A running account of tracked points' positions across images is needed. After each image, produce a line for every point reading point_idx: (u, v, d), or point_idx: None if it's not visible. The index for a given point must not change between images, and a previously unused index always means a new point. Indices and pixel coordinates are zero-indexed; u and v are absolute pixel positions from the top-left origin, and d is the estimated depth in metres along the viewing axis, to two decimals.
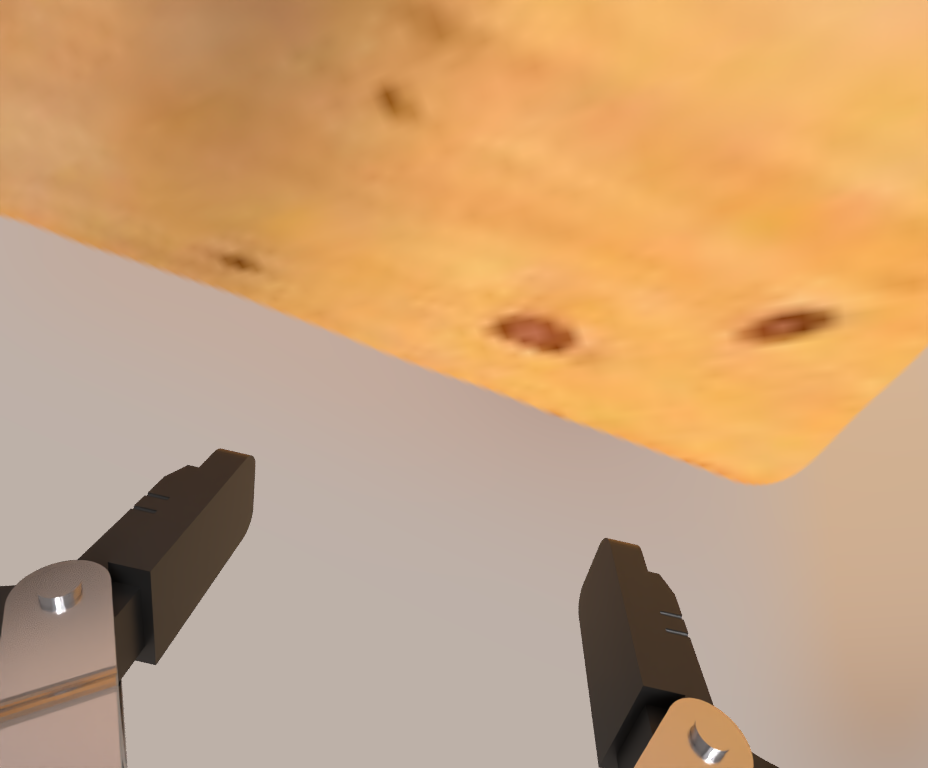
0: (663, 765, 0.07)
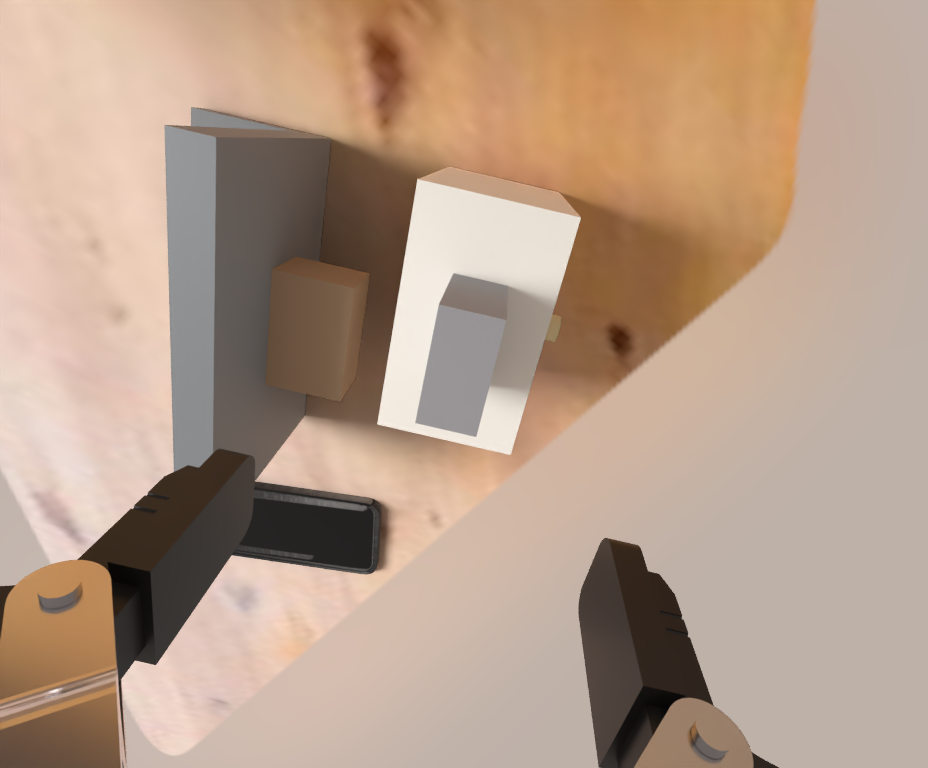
0: (663, 765, 0.07)
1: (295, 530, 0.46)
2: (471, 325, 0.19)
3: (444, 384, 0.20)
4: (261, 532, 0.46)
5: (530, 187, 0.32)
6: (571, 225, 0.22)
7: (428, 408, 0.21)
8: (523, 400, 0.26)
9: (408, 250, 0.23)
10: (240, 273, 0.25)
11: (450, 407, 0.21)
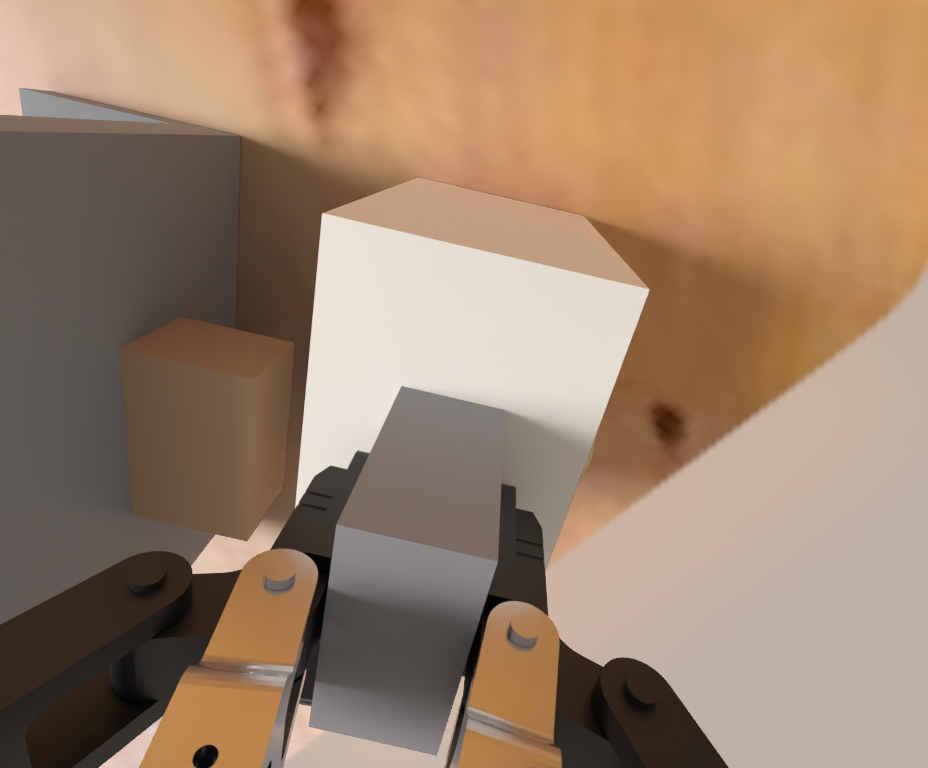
0: (494, 673, 0.08)
1: None
2: (415, 567, 0.08)
3: (362, 668, 0.09)
4: None
5: (541, 210, 0.20)
6: (629, 304, 0.11)
7: (333, 705, 0.10)
8: None
9: (315, 345, 0.12)
10: (22, 377, 0.14)
11: (380, 706, 0.10)
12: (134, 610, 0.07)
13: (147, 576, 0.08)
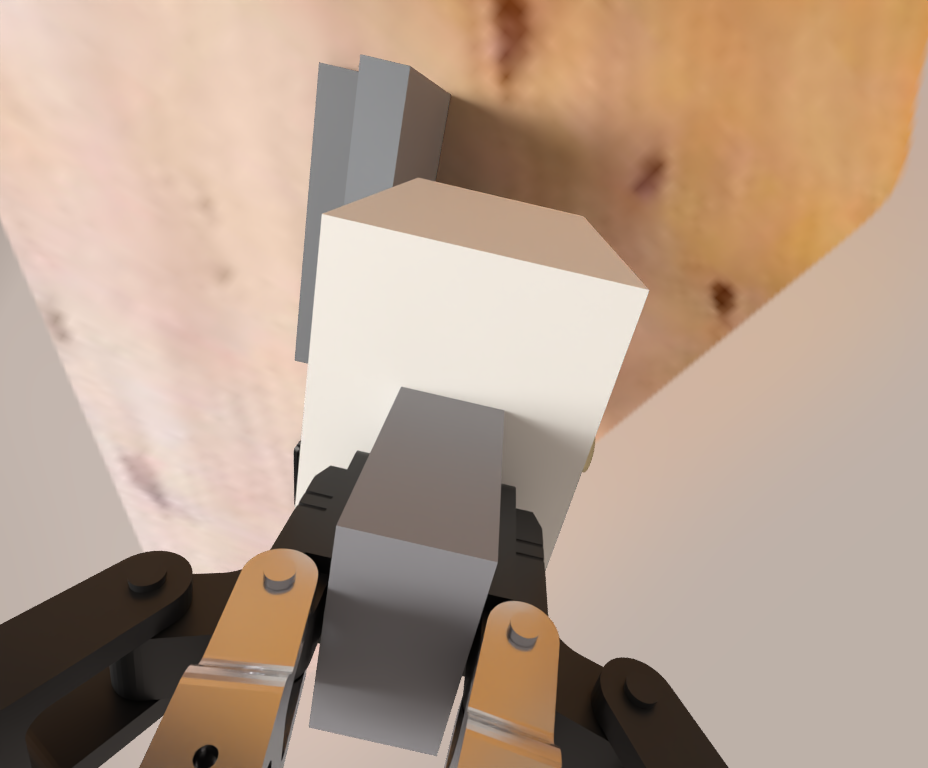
0: (494, 673, 0.08)
1: None
2: (415, 567, 0.08)
3: (362, 669, 0.09)
4: None
5: (540, 210, 0.20)
6: (629, 304, 0.11)
7: (333, 706, 0.10)
8: None
9: (314, 346, 0.12)
10: None
11: (380, 707, 0.10)
12: (134, 610, 0.07)
13: (146, 576, 0.08)
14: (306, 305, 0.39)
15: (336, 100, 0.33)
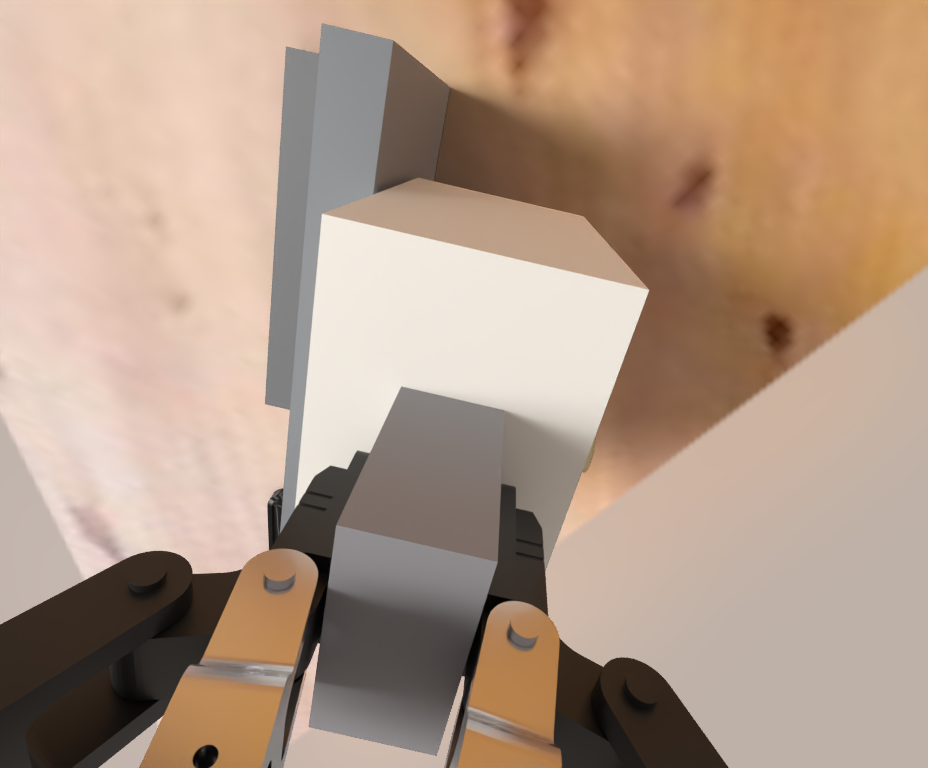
0: (494, 673, 0.08)
1: None
2: (415, 567, 0.08)
3: (362, 669, 0.09)
4: None
5: (540, 210, 0.20)
6: (629, 304, 0.11)
7: (333, 706, 0.10)
8: None
9: (315, 345, 0.12)
10: None
11: (380, 706, 0.10)
12: (134, 610, 0.07)
13: (147, 576, 0.08)
14: (277, 341, 0.32)
15: (308, 94, 0.27)
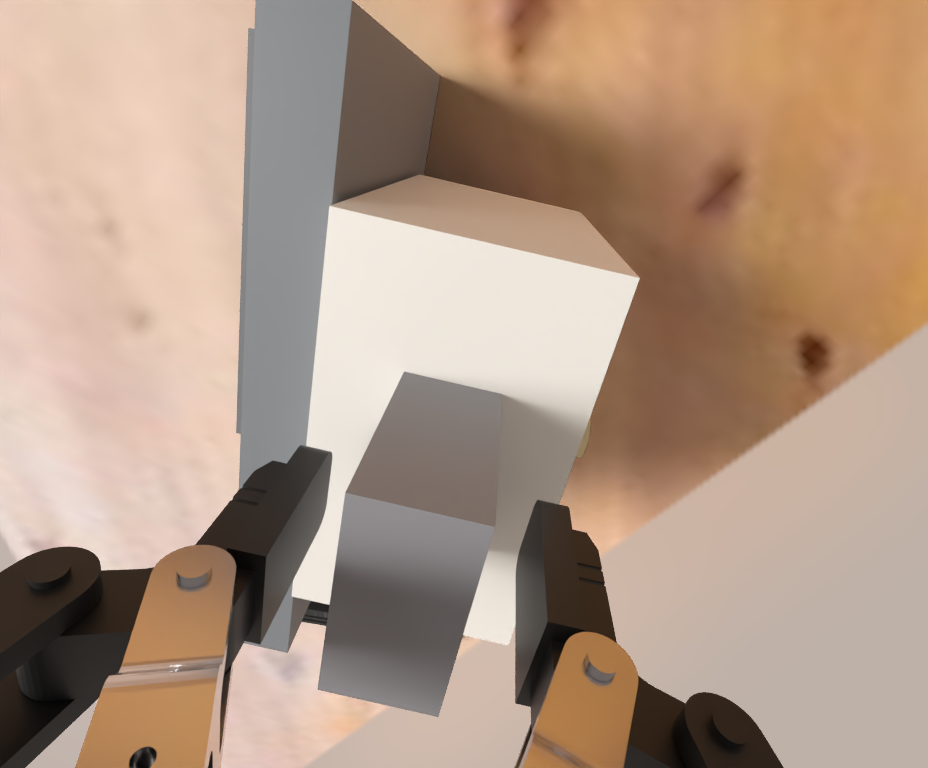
0: (566, 701, 0.08)
1: None
2: (418, 532, 0.09)
3: (369, 632, 0.10)
4: None
5: (538, 206, 0.21)
6: (621, 292, 0.12)
7: (341, 668, 0.10)
8: None
9: (322, 332, 0.13)
10: None
11: (385, 669, 0.10)
12: (31, 607, 0.07)
13: (50, 572, 0.08)
14: None
15: None
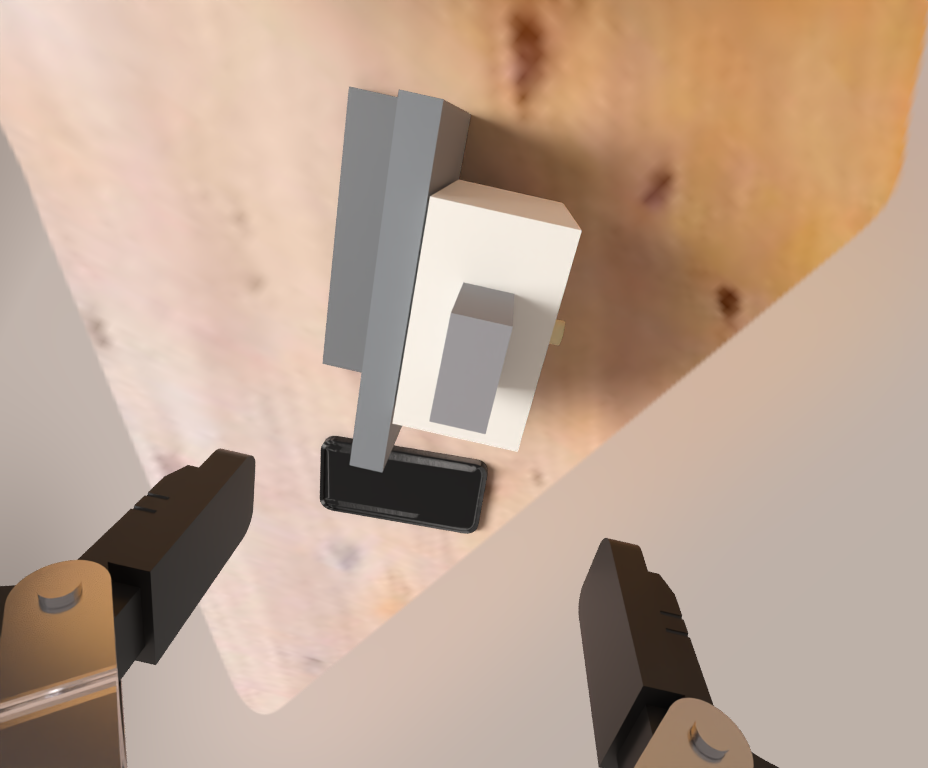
0: (663, 765, 0.07)
1: (404, 489, 0.49)
2: (480, 331, 0.21)
3: (455, 385, 0.22)
4: (371, 490, 0.49)
5: (535, 199, 0.33)
6: (572, 237, 0.24)
7: (441, 408, 0.23)
8: (529, 400, 0.28)
9: (421, 261, 0.25)
10: None
11: (462, 406, 0.23)
12: None
13: None
14: (334, 312, 0.41)
15: (364, 121, 0.35)
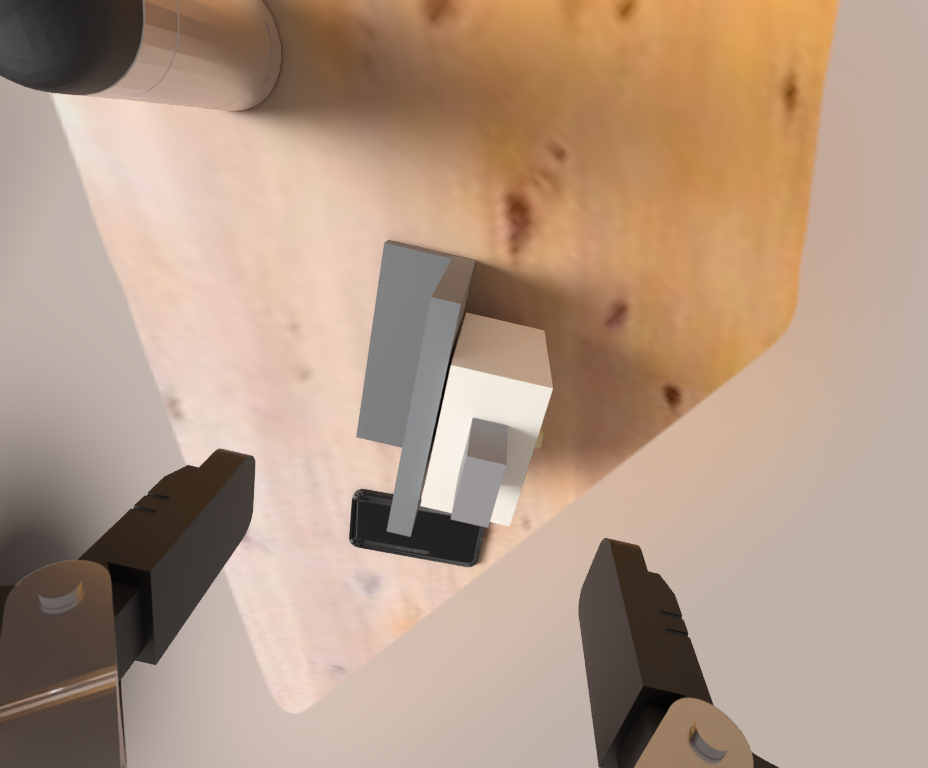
0: (663, 765, 0.07)
1: (418, 531, 0.60)
2: (485, 466, 0.33)
3: (468, 498, 0.34)
4: (391, 532, 0.60)
5: (523, 331, 0.45)
6: (547, 392, 0.36)
7: (459, 511, 0.34)
8: (518, 492, 0.39)
9: (444, 403, 0.37)
10: (447, 370, 0.39)
11: (472, 511, 0.34)
12: None
13: None
14: (367, 399, 0.53)
15: (395, 266, 0.47)
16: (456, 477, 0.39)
